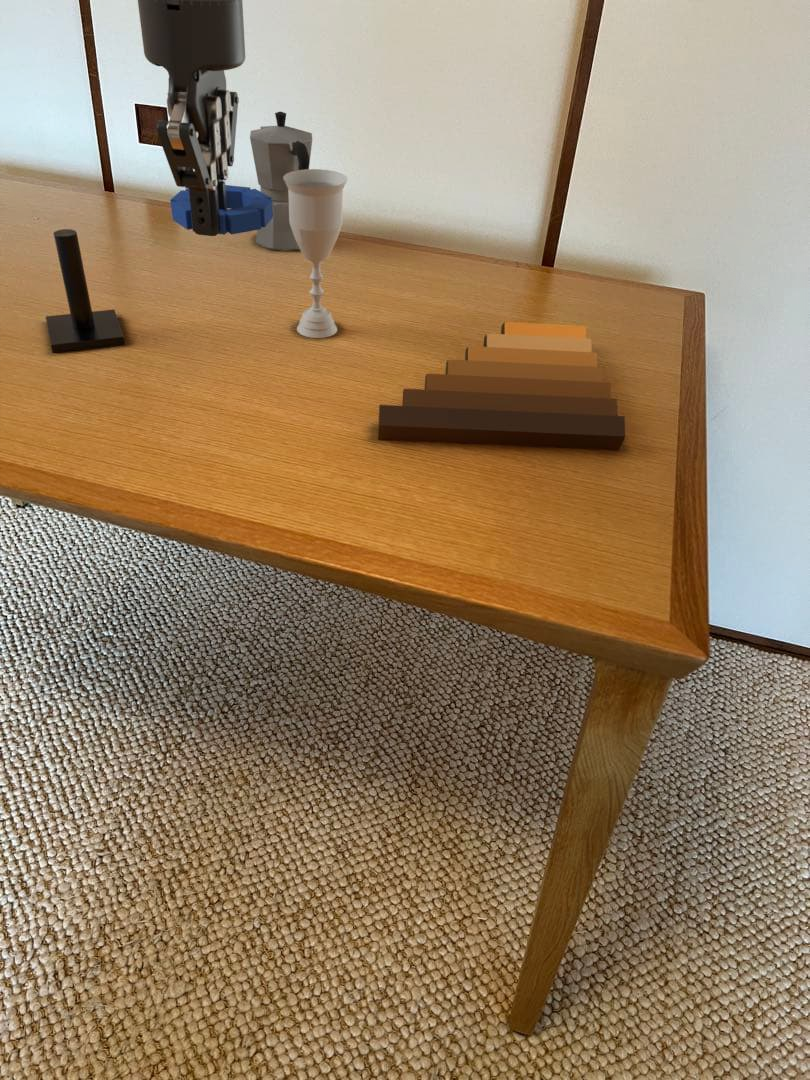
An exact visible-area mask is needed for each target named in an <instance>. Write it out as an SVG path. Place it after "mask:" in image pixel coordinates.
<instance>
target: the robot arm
mask: <svg viewBox="0 0 810 1080" xmlns="http://www.w3.org/2000/svg"><path fill="white" fill-rule="evenodd" d="M137 6H138V15H139V23H140V30H141V37H142V39H141V40H142V47H143V55H144V57H145V59H146V60H147V61H148V62H149V63H150V64H152V65H154V66H156V67H162V68H164V69H165V70H166V72H167V73H168V91H167V94H166V107H167V114H168V117H169V120H161V119H159V120H158V121H157V124H156V125H157V126H156V132H157V136H158V138H159V141H160V144H161V147H162V150H163V152H164V155H165V158H166V161H167V164H168V167H169V169H170V172H171V175H172V177H173V179H174V182H175V185H176V187H179V188H185V189H187V188H189V196H190V205H191V215H192V225H193V230H194V231H193V230H192V231H193V232H194V233H195V234H196V235H198V236H207V237H216V236H217V235H219V234H218V233H219V232H220V219H219V209H221V210H227V209H228V208H227V200H226V187H225V185H226V181H227V180H228V178H229V173H230V172H229V168H230V167H233V165H234V162H235V146H236V134H237V121H238V108H239V102H240V100H239V95H238V92H237V91H230V90H229V89H227V77H226V74H225V71H230V70H234V69H237V68H239V67H241V66H242V65H243V64H244V63H245V60H246V45H245V44H246V42H245V28H244V27H245V26H244V24H245V23H244V8H243V6H244V5H243V0H137Z"/></svg>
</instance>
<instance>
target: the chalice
mask: <svg viewBox="0 0 810 1080" xmlns="http://www.w3.org/2000/svg"><path fill="white" fill-rule="evenodd" d="M283 178H284V181H285V183H286V185H287V187H288V195H289V222H290V226H291V229H292V232H293V234H294V237H295V240H296V242H297V244H298V246H299V248H300V250H299V251H301V254H302V256H303V258H304V259H305V260H307V261H309V262H311V265H312V269H311V274H310V275H309V279H310V280H311V282H312V286H311V289H310V290H309V291H308V292H309V294H310V295H311V298H312V305H311V306H310V307H309V308H307V309H305V310H304V312H302V314H301V318H300V320H299V324H298V325H297V327H296V331H297V333H298V334H299V335H302V336H303V337H307V338H311V339H323V338H329V337H331V336H332V337H333V336H335V334H337V332H338V326H337V325H336V323H335V320H334V318H333V316H332V313H331V312H330V311H329V310H328V309H327V308H325V307H324V306H323V305H322V295H323V294H324V293H325V291H324V290H323V289H322V286H321V285H322V284H321V283H322V280H323V278H324V275H323V274H322V270H321V266H322V262H323V261H326V260H328V259H329V257H330V255H331V252H332V250H333V248H335V245H336V243H337V240H338V238H339V235H340V232H341V229H342V226H343V223H344V222H343V221H344V219H343V218H344V217H343V214H344V213H343V211H344V209H343V208H344V205H343V204H344V188H345V186H346V184H347V181H348V177H347V175H345V174H343V173H342V172H339V171H335V170H331V169H322V168H321V169H318V168H317V169H316V168H309V169H305V170H297V171H293V172H290V173H287V174H285V175H284V176H283Z"/></svg>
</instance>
